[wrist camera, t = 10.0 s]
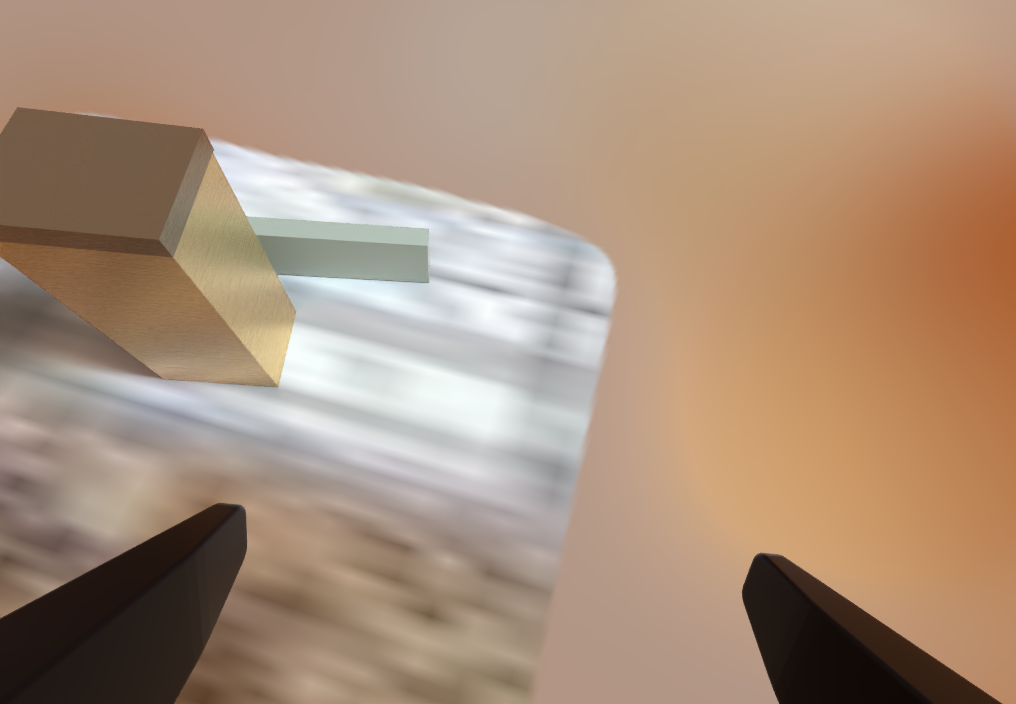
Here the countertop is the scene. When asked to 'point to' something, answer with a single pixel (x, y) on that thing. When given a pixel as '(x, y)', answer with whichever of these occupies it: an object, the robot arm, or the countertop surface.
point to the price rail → (344, 249)
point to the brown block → (143, 244)
